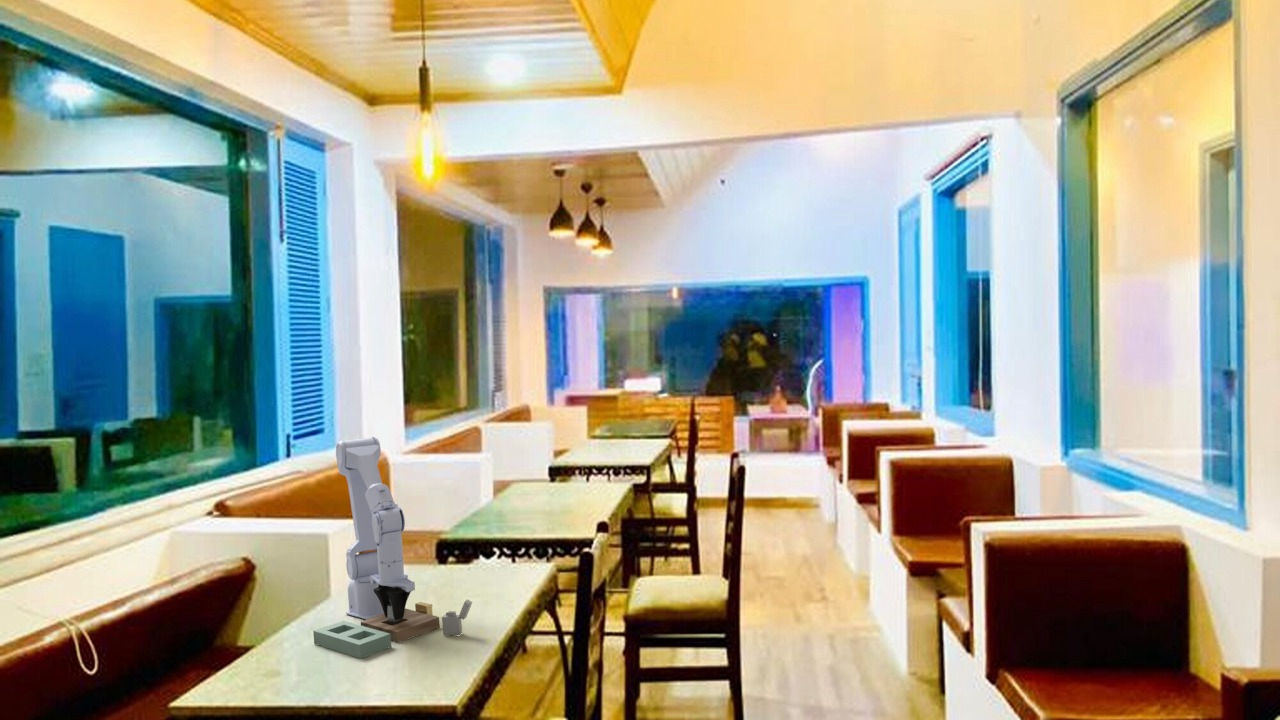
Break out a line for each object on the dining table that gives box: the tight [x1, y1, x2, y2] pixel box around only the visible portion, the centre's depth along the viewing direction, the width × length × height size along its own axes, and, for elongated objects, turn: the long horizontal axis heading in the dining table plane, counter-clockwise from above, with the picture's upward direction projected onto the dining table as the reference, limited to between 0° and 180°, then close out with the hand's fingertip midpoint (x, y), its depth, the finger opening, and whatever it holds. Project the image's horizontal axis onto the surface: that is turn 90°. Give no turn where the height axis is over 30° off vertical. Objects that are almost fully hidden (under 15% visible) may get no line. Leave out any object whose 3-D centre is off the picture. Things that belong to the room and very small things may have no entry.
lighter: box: [441, 599, 473, 636], centre depth 212 cm, size 7×2×8 cm, turn 78°
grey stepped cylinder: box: [387, 601, 401, 626], centre depth 216 cm, size 3×3×9 cm
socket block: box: [360, 608, 441, 643], centre depth 217 cm, size 14×12×2 cm
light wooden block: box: [414, 601, 434, 615], centre depth 221 cm, size 4×6×4 cm
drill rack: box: [312, 620, 392, 659], centre depth 208 cm, size 18×8×3 cm, turn 51°
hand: (394, 617), depth 216 cm, fingers closed on grey stepped cylinder, 3 cm apart
